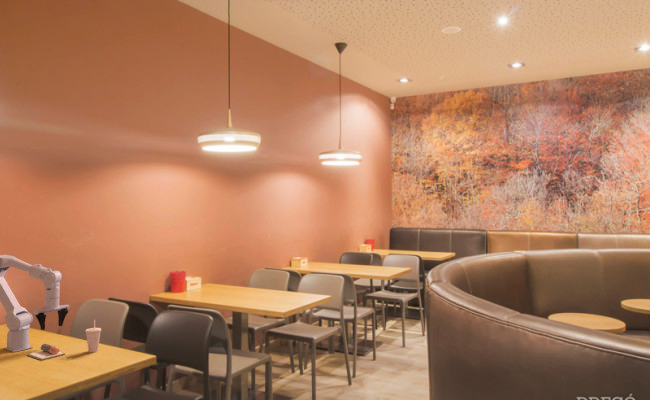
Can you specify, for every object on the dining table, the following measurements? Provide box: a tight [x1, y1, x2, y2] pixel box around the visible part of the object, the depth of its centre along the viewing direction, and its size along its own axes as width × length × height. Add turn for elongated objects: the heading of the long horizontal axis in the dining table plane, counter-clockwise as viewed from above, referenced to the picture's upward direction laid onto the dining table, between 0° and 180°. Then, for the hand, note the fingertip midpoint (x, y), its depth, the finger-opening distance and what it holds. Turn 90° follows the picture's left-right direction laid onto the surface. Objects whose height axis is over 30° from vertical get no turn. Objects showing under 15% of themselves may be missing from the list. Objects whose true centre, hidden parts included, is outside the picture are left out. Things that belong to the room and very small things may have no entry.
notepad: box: [26, 350, 66, 361], centre depth 195 cm, size 13×10×1 cm
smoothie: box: [84, 319, 102, 354], centre depth 200 cm, size 6×6×14 cm
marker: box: [40, 343, 60, 355], centre depth 196 cm, size 10×3×3 cm
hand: (51, 327), depth 205 cm, fingers open, 7 cm apart
